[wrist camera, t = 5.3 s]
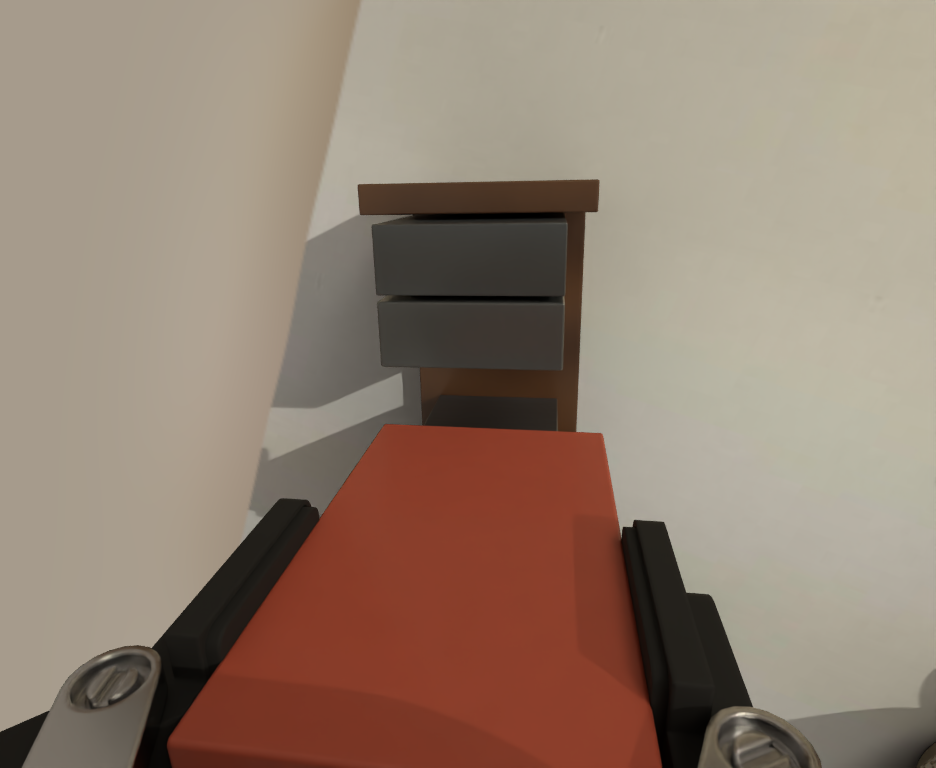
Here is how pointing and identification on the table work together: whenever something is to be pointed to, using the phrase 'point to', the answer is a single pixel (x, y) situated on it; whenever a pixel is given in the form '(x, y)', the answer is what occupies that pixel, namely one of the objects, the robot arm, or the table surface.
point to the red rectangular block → (443, 620)
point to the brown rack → (484, 296)
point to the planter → (928, 758)
